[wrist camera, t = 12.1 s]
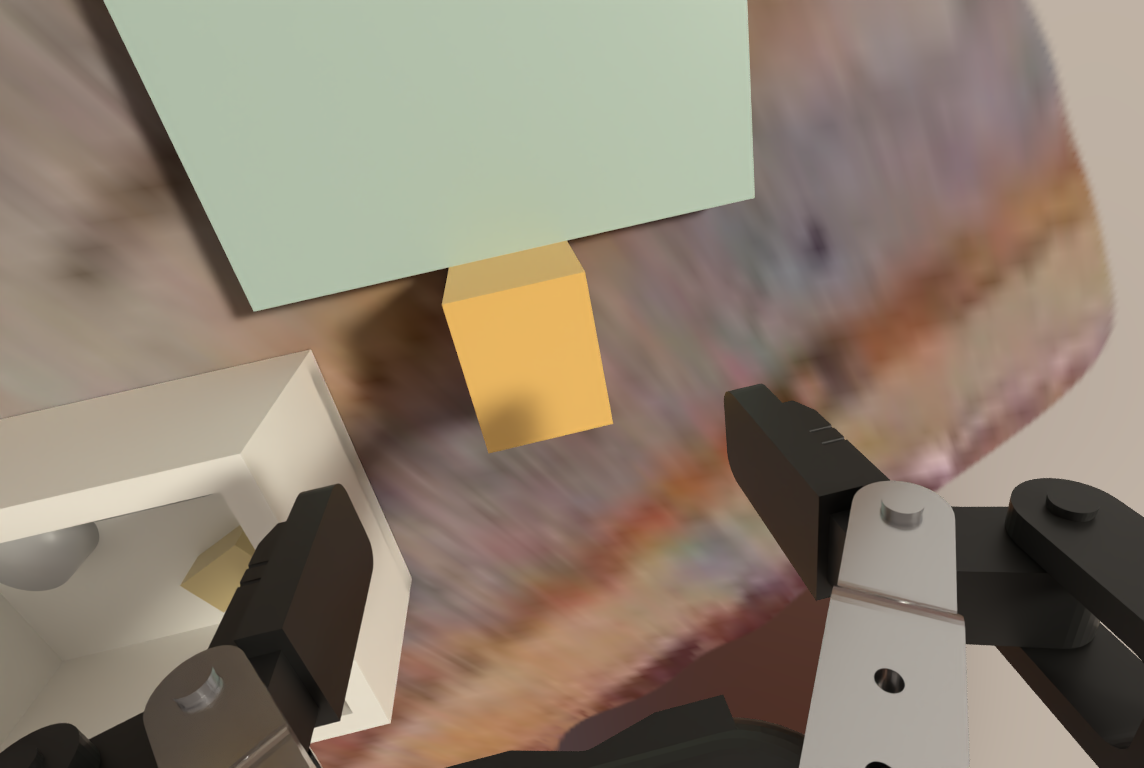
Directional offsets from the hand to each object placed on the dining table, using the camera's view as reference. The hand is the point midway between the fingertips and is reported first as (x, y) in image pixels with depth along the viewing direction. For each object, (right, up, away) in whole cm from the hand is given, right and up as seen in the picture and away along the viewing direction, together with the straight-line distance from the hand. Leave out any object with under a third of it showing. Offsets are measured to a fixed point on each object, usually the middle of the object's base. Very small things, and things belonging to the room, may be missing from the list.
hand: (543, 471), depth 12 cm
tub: (-16, -4, +12) cm, 20 cm away
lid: (-3, +10, +7) cm, 13 cm away
